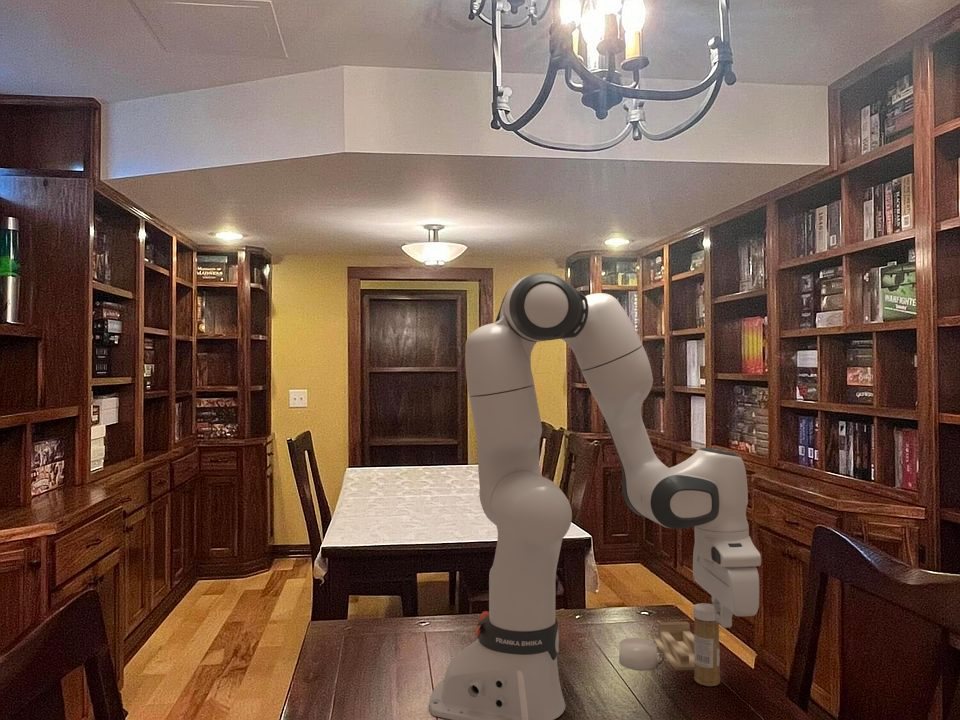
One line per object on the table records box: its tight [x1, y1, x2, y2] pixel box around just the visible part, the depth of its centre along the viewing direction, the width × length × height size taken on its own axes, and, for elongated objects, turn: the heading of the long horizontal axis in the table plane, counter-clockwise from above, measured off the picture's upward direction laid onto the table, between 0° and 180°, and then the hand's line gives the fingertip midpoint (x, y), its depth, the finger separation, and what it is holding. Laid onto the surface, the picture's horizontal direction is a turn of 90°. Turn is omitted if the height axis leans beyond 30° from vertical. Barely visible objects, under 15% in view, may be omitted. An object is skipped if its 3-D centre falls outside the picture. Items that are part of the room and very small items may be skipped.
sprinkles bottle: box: [692, 602, 721, 687], centre depth 129 cm, size 5×5×14 cm
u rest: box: [653, 621, 695, 671], centre depth 141 cm, size 14×8×4 cm, turn 3°
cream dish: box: [618, 637, 658, 671], centre depth 137 cm, size 7×7×4 cm
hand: (723, 624), depth 123 cm, fingers closed
